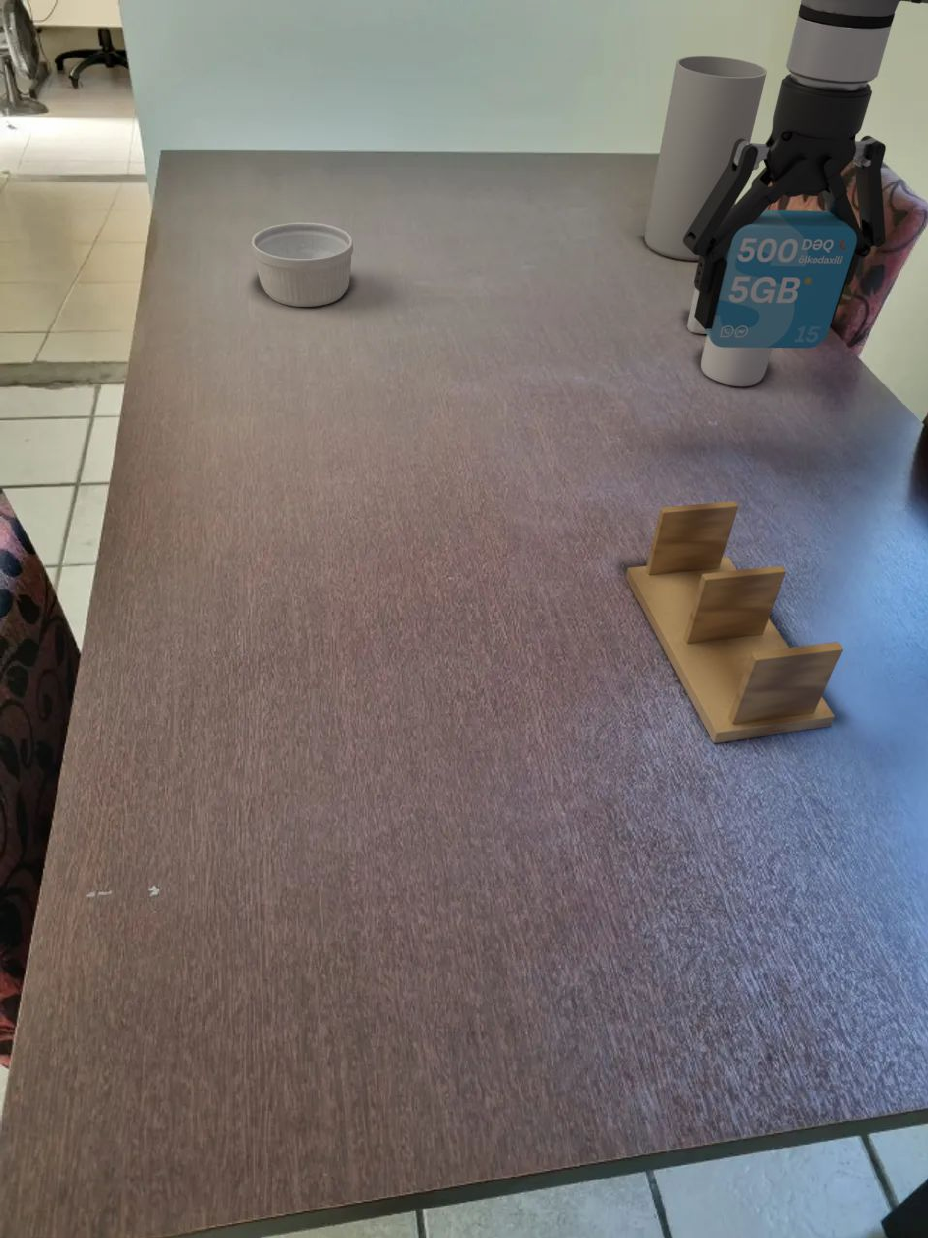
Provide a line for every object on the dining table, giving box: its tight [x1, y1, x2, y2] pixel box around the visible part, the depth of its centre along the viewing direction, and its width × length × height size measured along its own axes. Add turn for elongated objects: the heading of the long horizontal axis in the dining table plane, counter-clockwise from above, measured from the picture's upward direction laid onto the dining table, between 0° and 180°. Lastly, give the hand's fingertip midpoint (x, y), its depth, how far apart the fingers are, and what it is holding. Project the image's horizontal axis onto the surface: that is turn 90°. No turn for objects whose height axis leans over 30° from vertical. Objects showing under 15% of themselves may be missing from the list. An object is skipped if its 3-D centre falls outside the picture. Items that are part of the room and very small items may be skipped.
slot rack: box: [625, 500, 844, 744], centre depth 77 cm, size 10×20×8 cm, turn 12°
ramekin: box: [251, 222, 354, 308], centre depth 126 cm, size 13×13×7 cm
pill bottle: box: [700, 334, 773, 387], centre depth 112 cm, size 8×8×15 cm
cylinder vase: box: [644, 55, 768, 262], centre depth 139 cm, size 12×12×25 cm
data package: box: [703, 209, 857, 349], centre depth 91 cm, size 12×4×12 cm, turn 94°
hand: (763, 319), depth 94 cm, fingers closed on data package, 12 cm apart
